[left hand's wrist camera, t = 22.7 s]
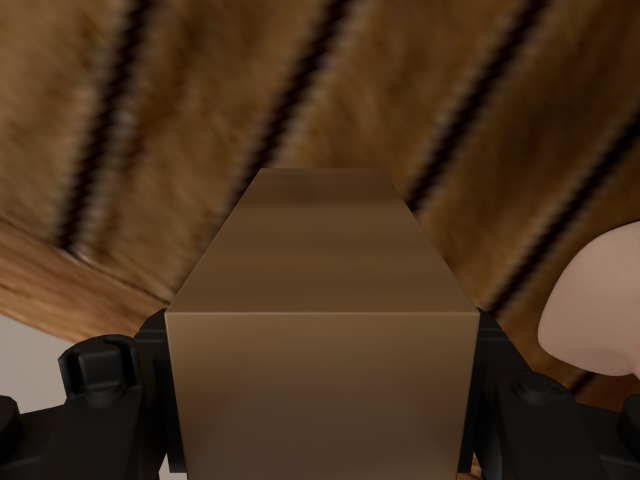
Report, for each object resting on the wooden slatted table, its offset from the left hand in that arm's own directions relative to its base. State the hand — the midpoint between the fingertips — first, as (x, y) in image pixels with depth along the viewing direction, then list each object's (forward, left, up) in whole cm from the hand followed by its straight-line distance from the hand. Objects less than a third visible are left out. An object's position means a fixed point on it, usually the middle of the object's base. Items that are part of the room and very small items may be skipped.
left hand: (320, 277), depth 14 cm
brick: (0, 0, -3) cm, 3 cm away
